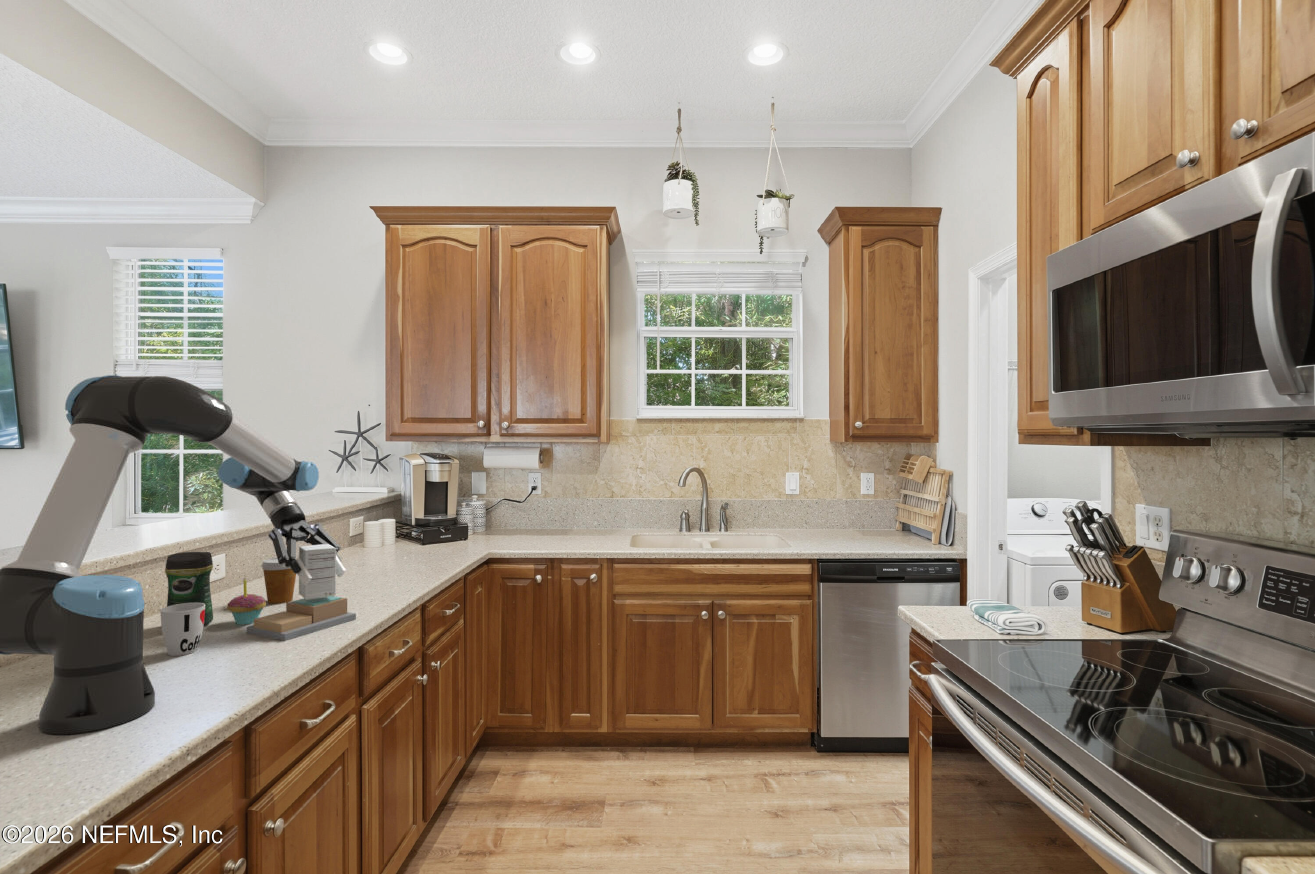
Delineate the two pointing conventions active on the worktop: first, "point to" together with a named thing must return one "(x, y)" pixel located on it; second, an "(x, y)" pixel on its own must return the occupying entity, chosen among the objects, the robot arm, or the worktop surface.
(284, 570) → the disposable coffee cup
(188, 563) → the coffee jar
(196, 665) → the worktop surface
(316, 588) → the supplement box
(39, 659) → the worktop surface
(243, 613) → the cupcake
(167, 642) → the cup
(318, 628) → the build base
